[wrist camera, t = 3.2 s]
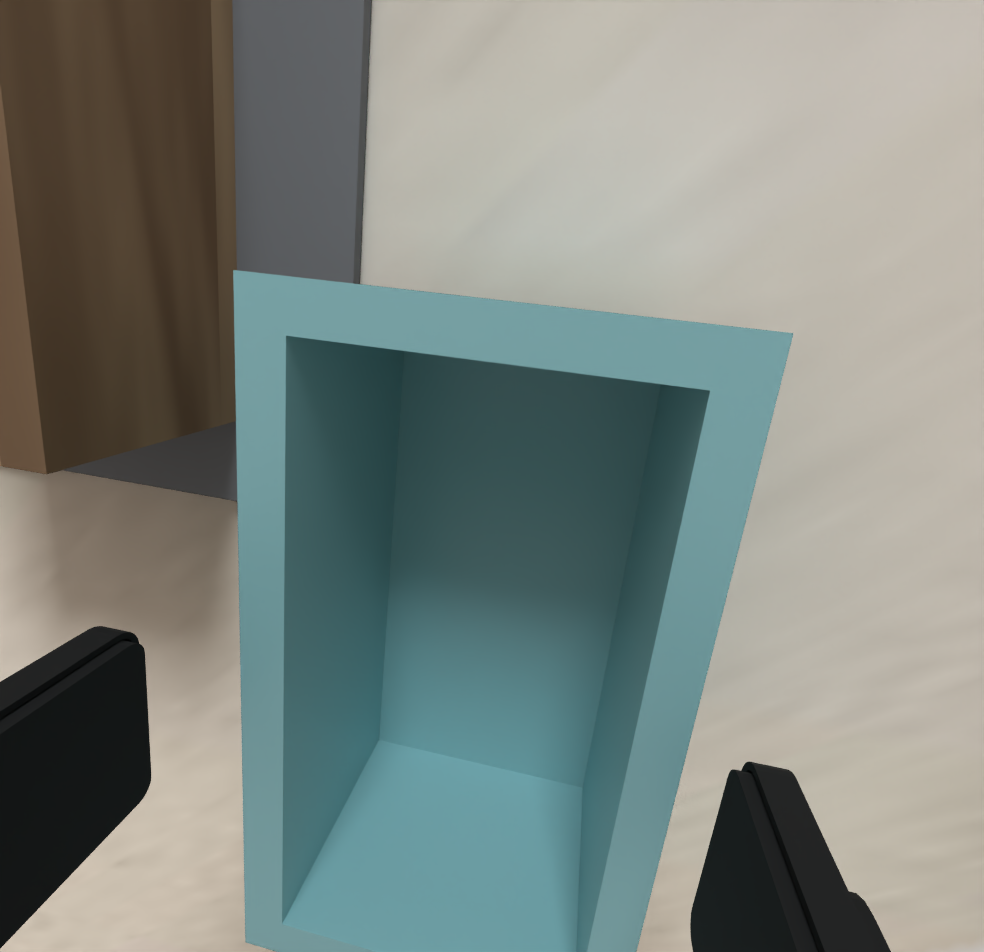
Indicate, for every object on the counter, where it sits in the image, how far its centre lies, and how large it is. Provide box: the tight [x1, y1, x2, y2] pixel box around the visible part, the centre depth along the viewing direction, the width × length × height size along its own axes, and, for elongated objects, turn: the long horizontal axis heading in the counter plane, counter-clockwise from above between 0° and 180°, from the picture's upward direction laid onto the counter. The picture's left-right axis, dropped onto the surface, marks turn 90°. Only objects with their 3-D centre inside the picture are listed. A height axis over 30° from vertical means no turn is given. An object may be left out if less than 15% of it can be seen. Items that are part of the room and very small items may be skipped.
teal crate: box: [233, 270, 793, 952], centre depth 13 cm, size 7×13×8 cm, turn 173°
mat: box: [64, 0, 371, 501], centre depth 15 cm, size 14×18×1 cm
